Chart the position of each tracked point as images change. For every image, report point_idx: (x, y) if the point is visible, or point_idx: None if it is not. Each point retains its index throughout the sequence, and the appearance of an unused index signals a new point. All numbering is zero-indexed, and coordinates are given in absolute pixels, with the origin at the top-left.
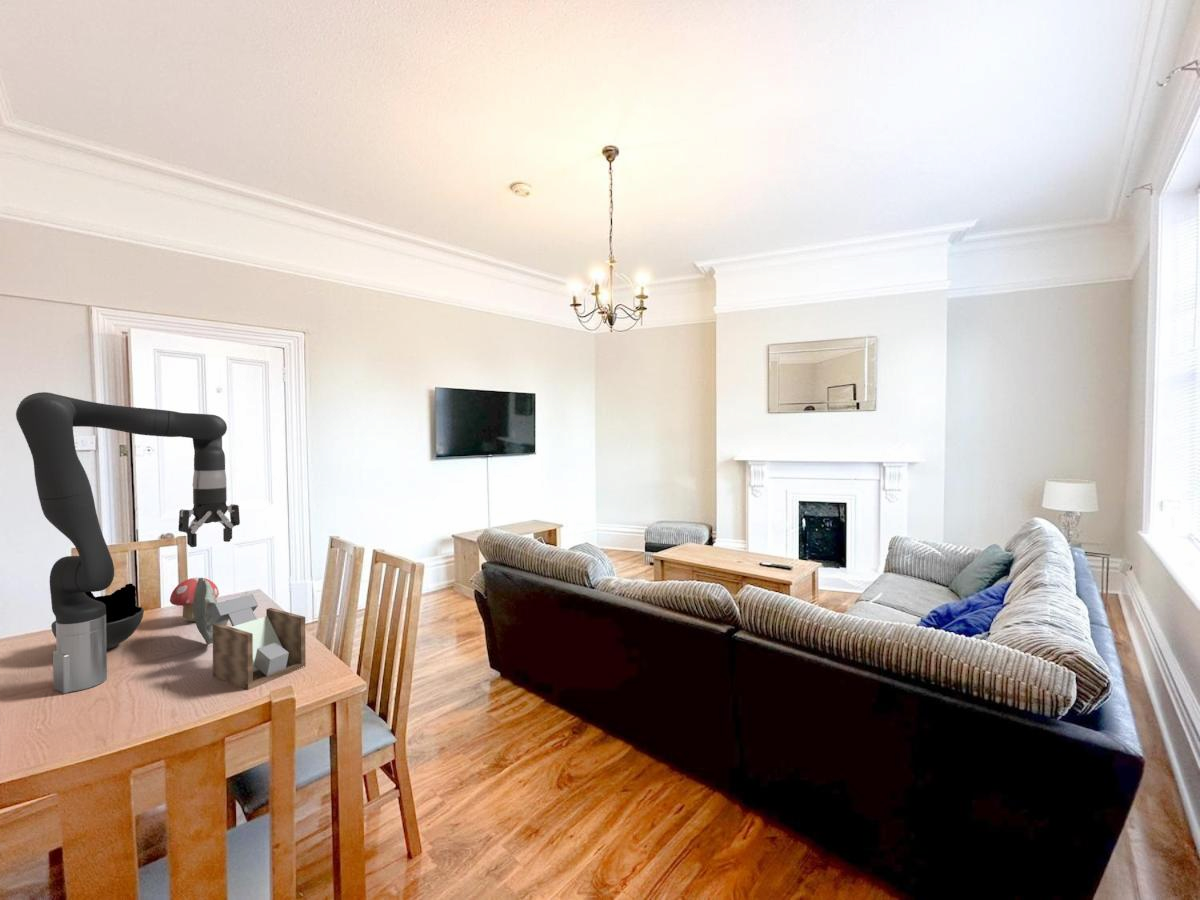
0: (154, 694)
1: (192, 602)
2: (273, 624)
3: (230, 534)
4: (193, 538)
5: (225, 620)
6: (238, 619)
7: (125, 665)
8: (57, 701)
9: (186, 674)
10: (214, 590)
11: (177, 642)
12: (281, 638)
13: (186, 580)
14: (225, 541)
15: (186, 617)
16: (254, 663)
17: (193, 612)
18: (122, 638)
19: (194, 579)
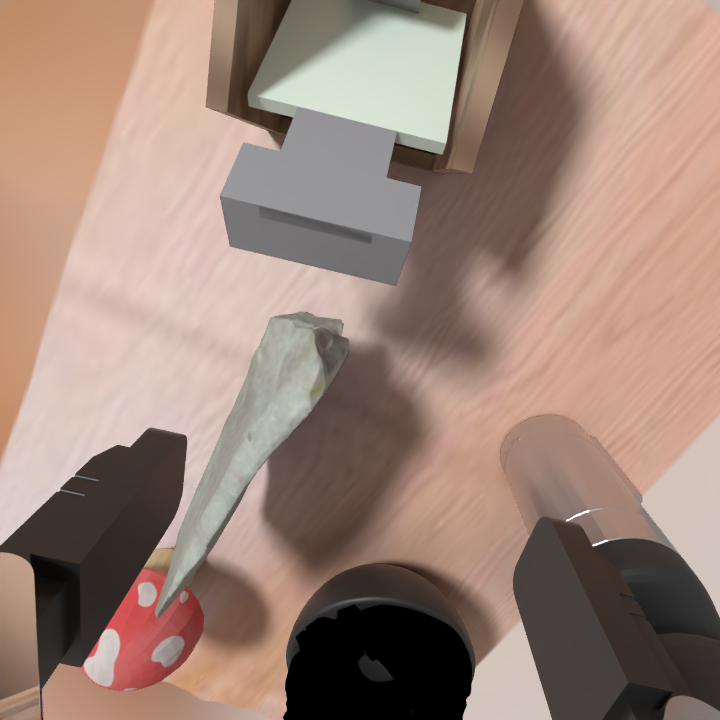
0: (573, 227)
1: None
2: (253, 60)
3: (87, 492)
4: (627, 618)
5: (284, 318)
6: (364, 141)
7: (438, 461)
8: (628, 416)
9: (450, 263)
10: None
11: (292, 476)
12: (275, 7)
13: (131, 683)
14: (182, 473)
15: None
16: (419, 7)
17: None
18: (373, 564)
19: (115, 670)
